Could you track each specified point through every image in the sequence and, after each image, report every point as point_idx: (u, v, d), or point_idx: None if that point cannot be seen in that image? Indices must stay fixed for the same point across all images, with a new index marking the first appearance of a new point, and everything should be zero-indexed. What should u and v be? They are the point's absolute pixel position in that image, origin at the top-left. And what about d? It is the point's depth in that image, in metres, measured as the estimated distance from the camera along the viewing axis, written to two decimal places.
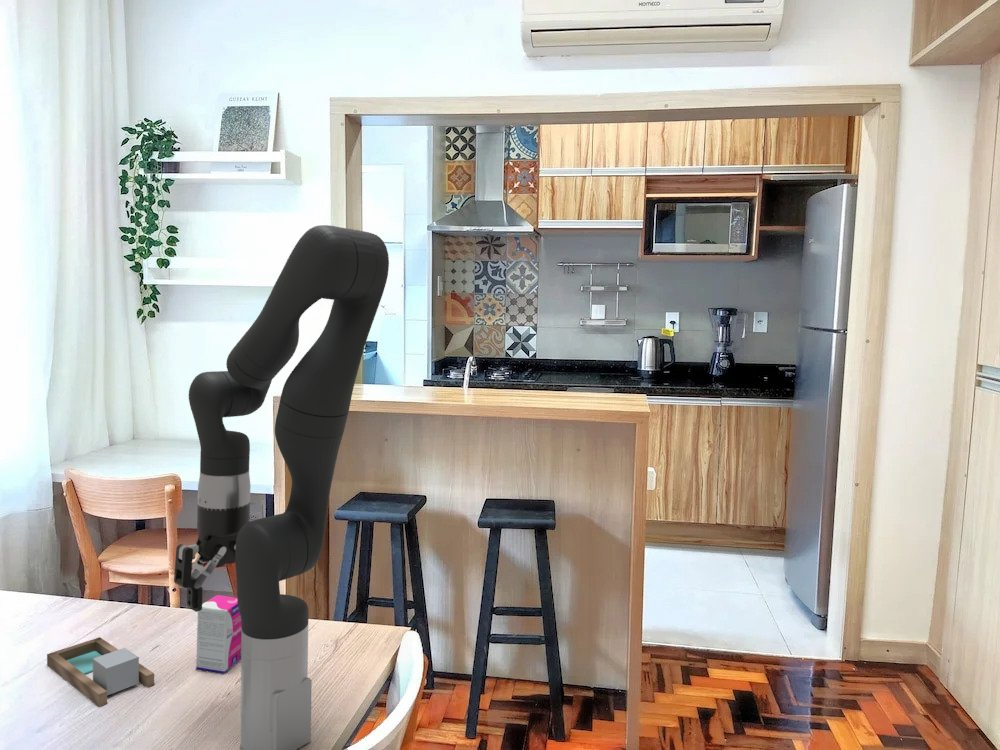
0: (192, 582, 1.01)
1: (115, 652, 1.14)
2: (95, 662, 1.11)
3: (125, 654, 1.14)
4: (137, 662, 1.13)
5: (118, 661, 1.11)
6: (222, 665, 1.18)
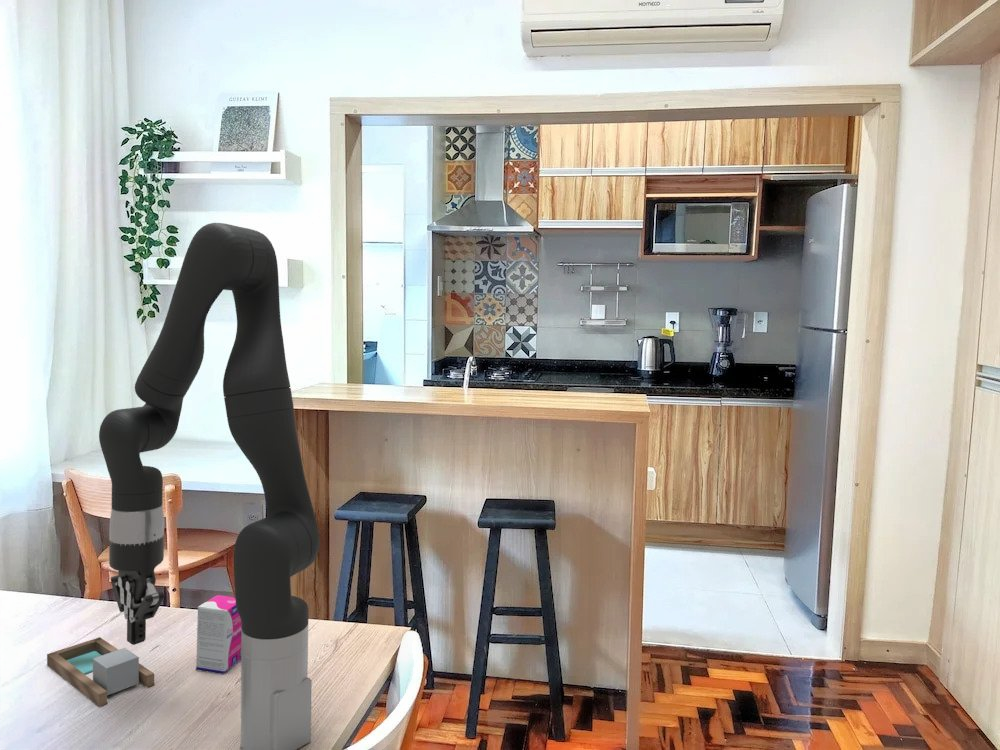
0: None
1: (115, 652, 1.14)
2: (95, 662, 1.11)
3: (125, 654, 1.14)
4: (137, 662, 1.13)
5: (118, 661, 1.11)
6: (222, 665, 1.18)
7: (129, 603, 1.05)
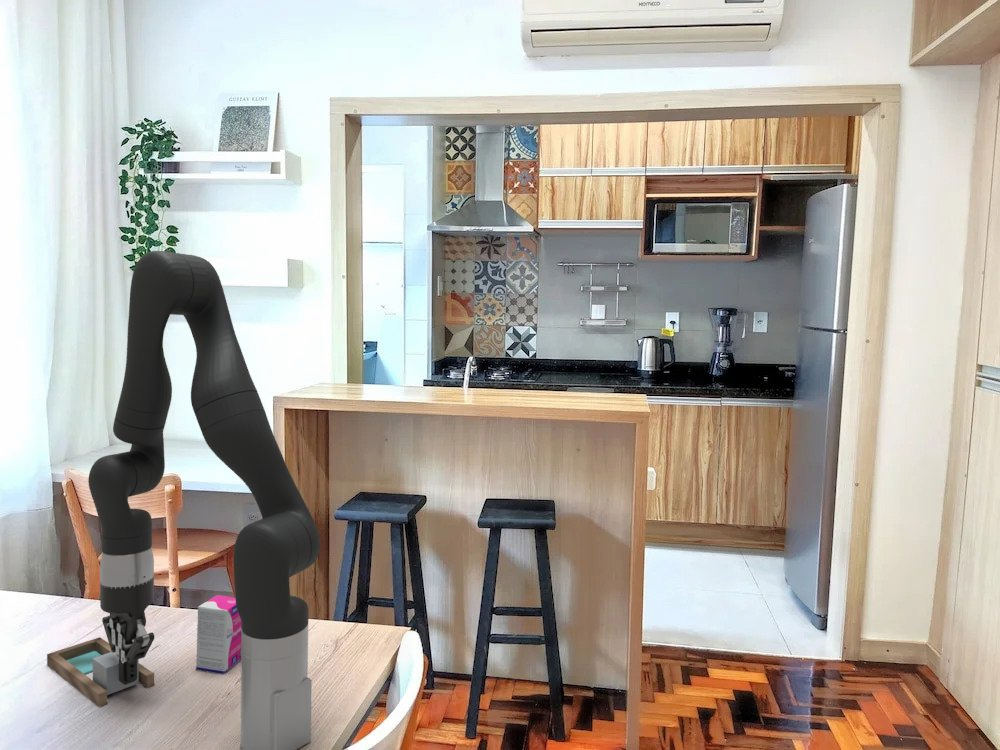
0: None
1: (115, 652, 1.14)
2: (95, 662, 1.11)
3: None
4: (137, 662, 1.13)
5: (117, 661, 1.11)
6: (222, 665, 1.18)
7: (120, 644, 1.07)
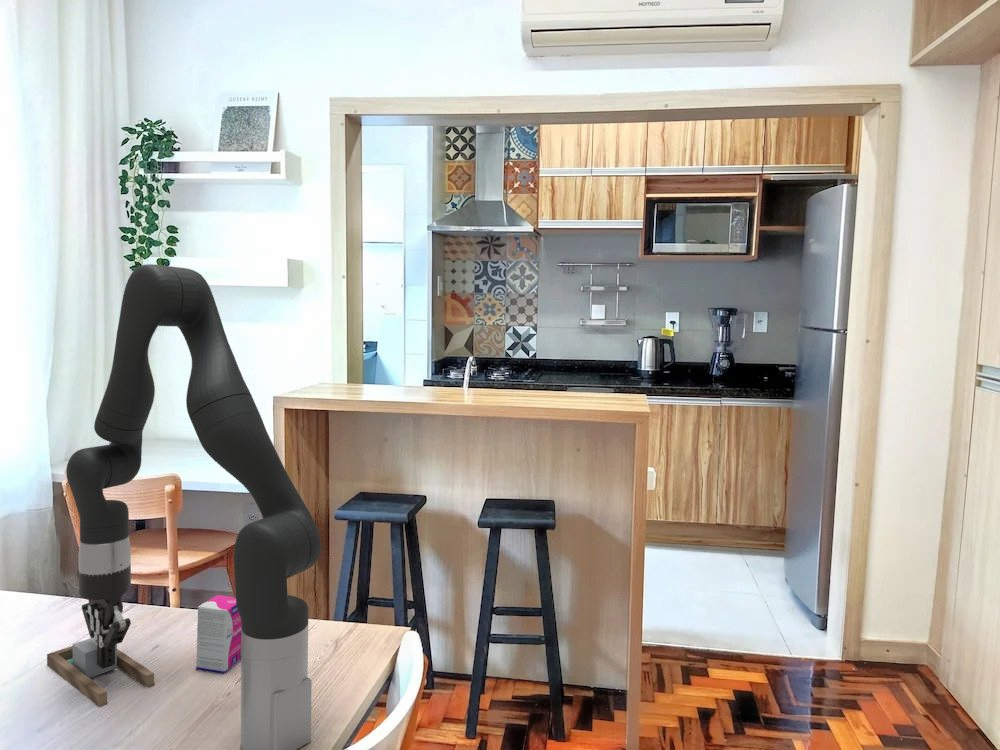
0: None
1: None
2: (74, 647, 1.16)
3: None
4: (115, 647, 1.17)
5: (96, 646, 1.16)
6: (222, 665, 1.18)
7: (98, 630, 1.12)
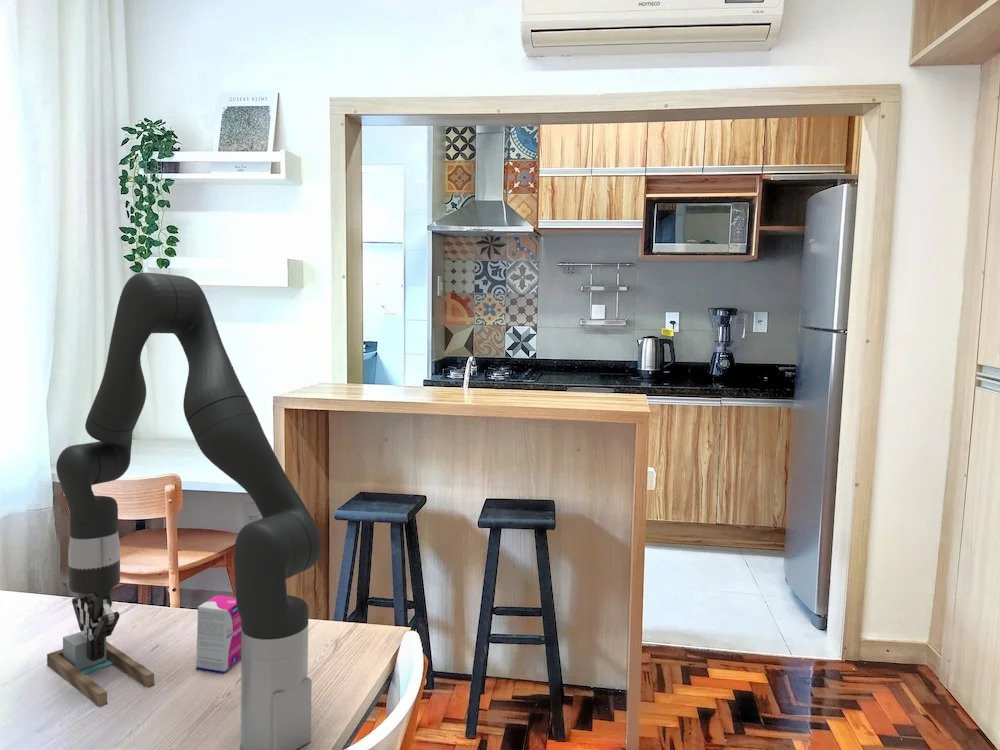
0: None
1: None
2: (65, 640, 1.18)
3: None
4: (105, 641, 1.20)
5: (86, 639, 1.18)
6: (222, 665, 1.18)
7: (87, 623, 1.14)
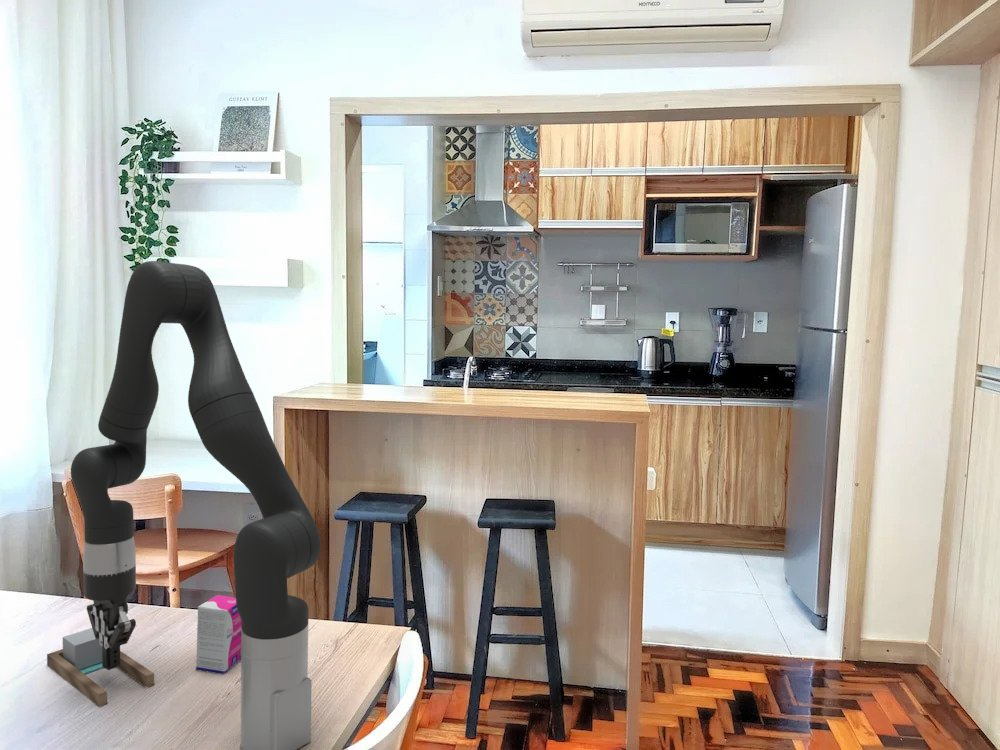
0: None
1: (84, 631, 1.21)
2: (65, 640, 1.18)
3: (93, 633, 1.21)
4: None
5: (86, 639, 1.18)
6: (222, 665, 1.18)
7: (103, 630, 1.11)
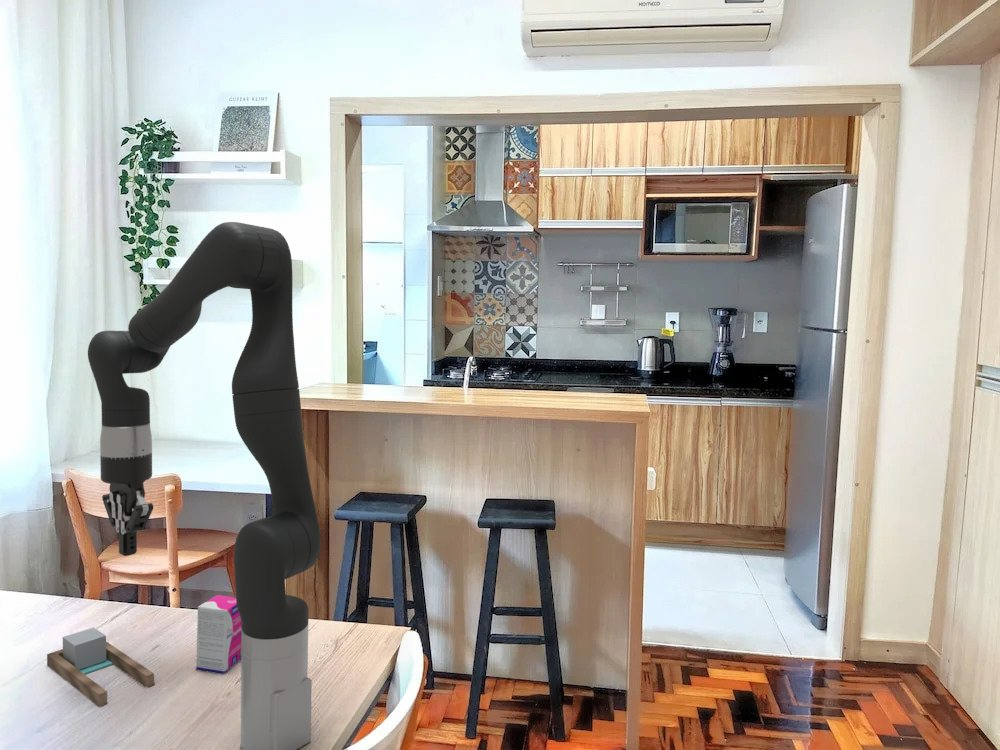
0: None
1: (84, 631, 1.21)
2: (65, 640, 1.18)
3: (93, 633, 1.21)
4: (104, 640, 1.20)
5: (86, 639, 1.18)
6: (222, 665, 1.18)
7: (120, 515, 1.11)
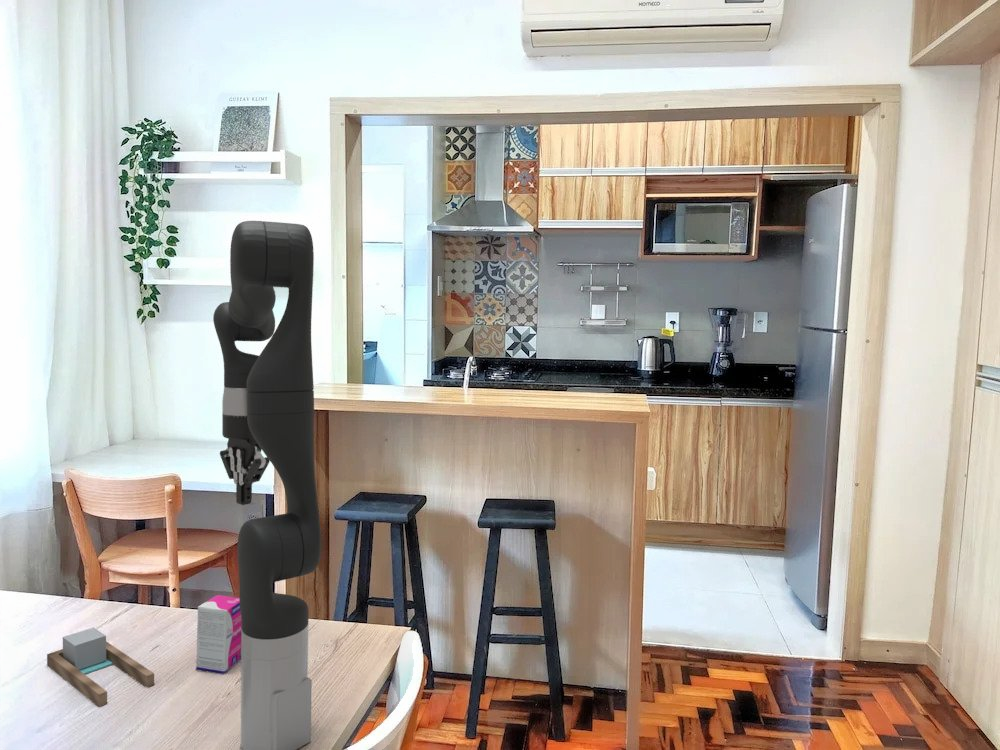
0: None
1: (84, 631, 1.21)
2: (65, 640, 1.18)
3: (93, 633, 1.21)
4: (104, 640, 1.20)
5: (86, 639, 1.18)
6: (222, 665, 1.18)
7: (239, 468, 1.25)
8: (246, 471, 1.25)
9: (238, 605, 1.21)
